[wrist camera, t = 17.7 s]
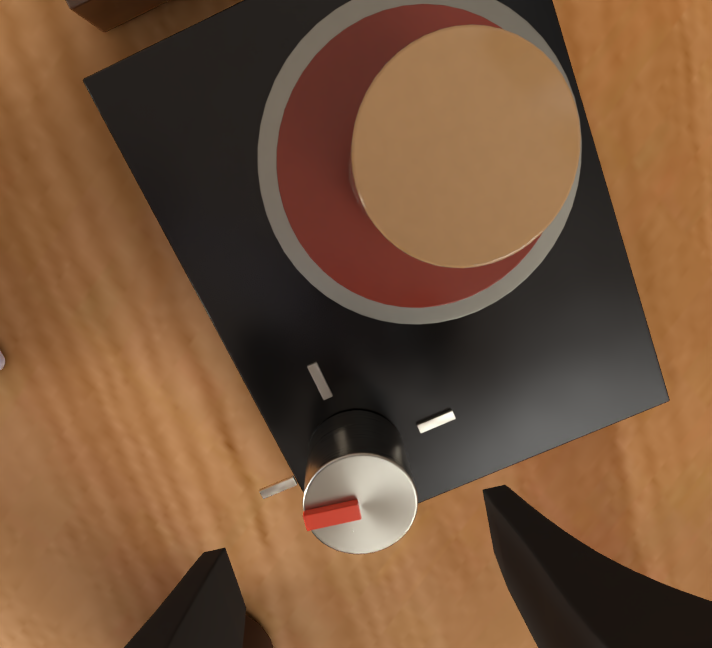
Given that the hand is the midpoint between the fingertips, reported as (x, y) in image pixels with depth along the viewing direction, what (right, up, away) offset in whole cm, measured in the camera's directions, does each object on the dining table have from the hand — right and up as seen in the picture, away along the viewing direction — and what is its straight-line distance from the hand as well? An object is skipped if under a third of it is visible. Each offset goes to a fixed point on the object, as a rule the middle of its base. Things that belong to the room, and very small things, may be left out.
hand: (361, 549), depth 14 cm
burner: (+2, +11, +3) cm, 12 cm away
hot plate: (+1, +9, +6) cm, 11 cm away
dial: (0, +1, +5) cm, 5 cm away
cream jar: (+2, +11, +2) cm, 11 cm away
